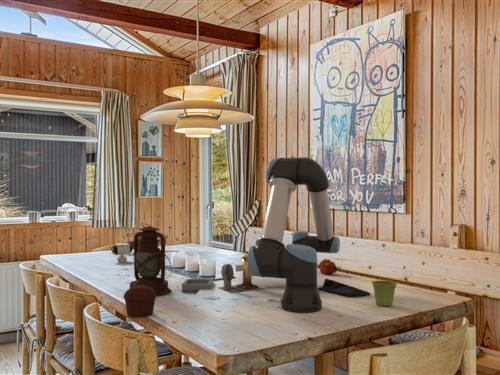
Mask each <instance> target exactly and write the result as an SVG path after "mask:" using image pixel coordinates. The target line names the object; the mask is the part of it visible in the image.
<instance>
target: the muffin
mask: <svg viewBox="0 0 500 375" xmlns="http://www.w3.org/2000/svg"><path fill="white" fill-rule="evenodd" d="M156 296H157V295H156V293H155V291H154V290H153V289H152V288H150V287H148V286H144V285H138V286H133V287H131V288H130V287H129V288H128V289H127V290H126V291H125V292H124V294H123V297H122V298H123V299H124V302H125V309H126V313H127V314H126V316H128V317H130V318H138V319H139V318H146V317H151V316H152V315H153V314H154V308H155V302H156V298H157V297H156Z"/></svg>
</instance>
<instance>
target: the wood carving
mask: <svg viewBox="0 0 500 375" xmlns="http://www.w3.org/2000/svg"><path fill="white" fill-rule="evenodd" d="M164 237H165V239H166V241H167V240H168V237H169V235H168V234H165V235H164ZM138 240H141V237H138ZM158 240H160V241H158V246H159V245H160V246H161V239H160V238H159V239H158ZM124 243H129V244H130V245H132V248H133V250H134V240H131V241H126V242H123V244H124ZM138 243H139V244H140V242H139V241H138ZM139 244H138V249H139V248H140V245H139Z"/></svg>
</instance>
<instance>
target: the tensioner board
mask: <svg viewBox="0 0 500 375" xmlns="http://www.w3.org/2000/svg"><path fill="white" fill-rule="evenodd" d="M234 275H235V274H234V268H233V265H232V264H231V263H224V264H223V265H222V267H221V276H222V280H223V286H220V287H217V289H219V290H222V291H225V292H228V293H231V294H236V293H245V292H251V291H260V290H266V288H265V287H262V286H258V285H257V284H254V283H252V286H248V287H244V286H243V283H239V284H235V285H232V280H233V279H234Z"/></svg>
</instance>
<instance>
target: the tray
mask: <svg viewBox="0 0 500 375" xmlns="http://www.w3.org/2000/svg"><path fill="white" fill-rule="evenodd" d="M213 284H214V279H213V278H186V279H185V280H184V281H183V282H182V283H181V293H199V291H200V290H210V289H211V288H212V286H213Z"/></svg>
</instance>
